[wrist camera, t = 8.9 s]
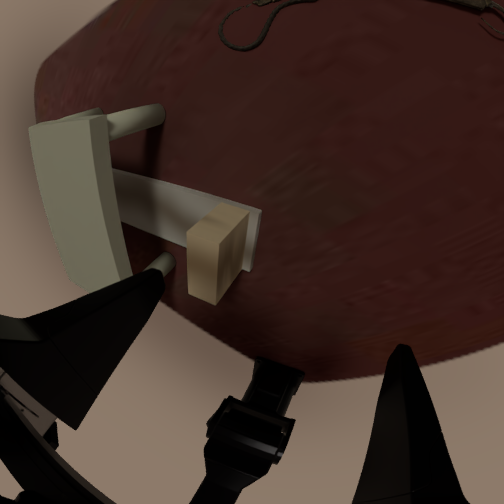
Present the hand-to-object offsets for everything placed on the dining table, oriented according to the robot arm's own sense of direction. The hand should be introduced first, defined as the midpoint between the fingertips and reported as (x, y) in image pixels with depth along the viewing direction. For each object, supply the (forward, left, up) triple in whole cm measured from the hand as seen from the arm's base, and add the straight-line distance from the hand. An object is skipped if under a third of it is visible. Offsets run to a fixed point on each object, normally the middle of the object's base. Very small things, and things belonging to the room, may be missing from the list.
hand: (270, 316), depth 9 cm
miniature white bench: (-4, +19, -12) cm, 23 cm away
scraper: (-5, +15, -13) cm, 21 cm away
